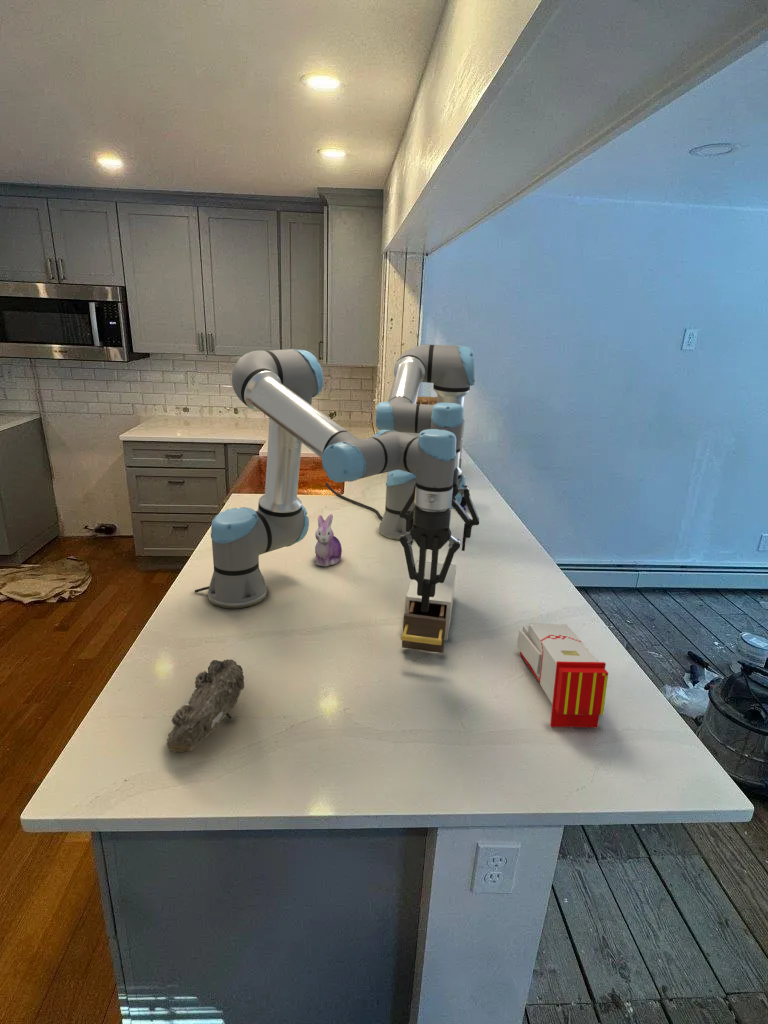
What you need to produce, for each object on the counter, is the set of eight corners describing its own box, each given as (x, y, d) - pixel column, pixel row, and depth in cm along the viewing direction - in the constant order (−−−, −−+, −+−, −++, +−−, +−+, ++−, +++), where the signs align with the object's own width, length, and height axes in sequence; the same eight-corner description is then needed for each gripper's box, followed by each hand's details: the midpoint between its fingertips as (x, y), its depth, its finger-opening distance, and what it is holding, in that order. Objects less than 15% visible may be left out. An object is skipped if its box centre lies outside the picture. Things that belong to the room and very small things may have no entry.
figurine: (319, 569, 170) (319, 523, 165) (307, 556, 178) (307, 511, 173) (348, 564, 174) (349, 519, 169) (335, 552, 182) (336, 508, 177)
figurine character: (470, 515, 225) (465, 499, 238) (472, 498, 221) (467, 483, 235) (453, 515, 224) (449, 499, 238) (455, 497, 221) (451, 482, 234)
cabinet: (447, 640, 137) (451, 602, 133) (403, 634, 138) (405, 596, 135) (453, 599, 156) (456, 564, 153) (414, 594, 158) (417, 560, 154)
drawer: (440, 668, 124) (443, 634, 122) (397, 662, 126) (399, 628, 123) (449, 610, 148) (451, 581, 145) (413, 606, 150) (415, 577, 147)
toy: (562, 608, 134) (617, 669, 105) (557, 660, 137) (609, 734, 107) (511, 607, 134) (552, 667, 104) (507, 659, 136) (545, 733, 107)
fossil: (192, 660, 117) (244, 628, 112) (224, 691, 120) (276, 661, 115) (142, 746, 98) (202, 712, 93) (182, 779, 101) (242, 748, 96)
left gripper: (398, 509, 113) (392, 613, 121) (464, 515, 111) (453, 621, 119) (403, 498, 120) (397, 597, 128) (465, 503, 118) (455, 604, 126)
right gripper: (391, 466, 138) (387, 546, 146) (494, 475, 135) (485, 557, 142) (395, 459, 145) (392, 535, 152) (494, 467, 142) (485, 545, 149)
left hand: (424, 608), depth 123 cm, fingers closed
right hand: (437, 546), depth 147 cm, fingers open, 13 cm apart
